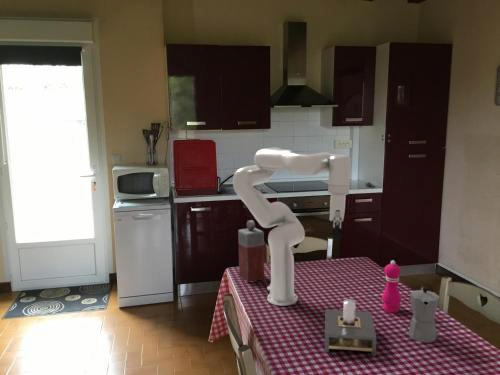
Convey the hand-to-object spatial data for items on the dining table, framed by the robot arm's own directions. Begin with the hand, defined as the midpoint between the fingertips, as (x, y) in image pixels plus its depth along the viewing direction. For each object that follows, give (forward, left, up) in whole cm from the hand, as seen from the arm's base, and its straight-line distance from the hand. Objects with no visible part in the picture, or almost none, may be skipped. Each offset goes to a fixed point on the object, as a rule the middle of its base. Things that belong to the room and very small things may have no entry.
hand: (336, 234), depth 164 cm
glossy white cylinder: (+15, -9, -32) cm, 37 cm away
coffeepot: (+28, +14, -33) cm, 45 cm away
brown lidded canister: (-51, -1, -33) cm, 60 cm away
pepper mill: (+9, +22, -33) cm, 40 cm away
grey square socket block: (+15, -9, -32) cm, 37 cm away
